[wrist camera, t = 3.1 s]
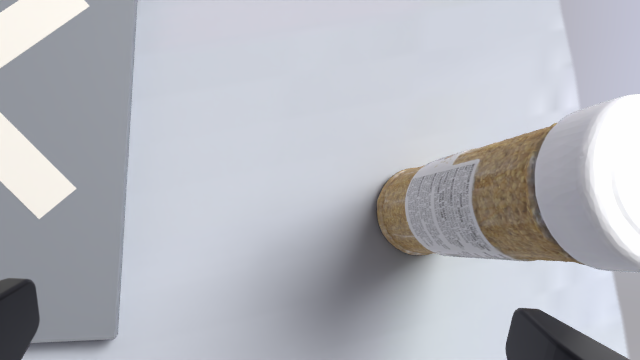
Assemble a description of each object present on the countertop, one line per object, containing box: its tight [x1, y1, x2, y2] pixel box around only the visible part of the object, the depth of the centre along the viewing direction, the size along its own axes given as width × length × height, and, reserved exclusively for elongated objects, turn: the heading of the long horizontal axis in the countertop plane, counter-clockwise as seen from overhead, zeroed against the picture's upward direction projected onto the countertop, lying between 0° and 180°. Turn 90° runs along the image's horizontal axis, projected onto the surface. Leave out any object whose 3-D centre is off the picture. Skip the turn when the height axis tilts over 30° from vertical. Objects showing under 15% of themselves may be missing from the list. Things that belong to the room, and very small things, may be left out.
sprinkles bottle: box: [377, 94, 640, 272], centre depth 18 cm, size 5×5×14 cm
